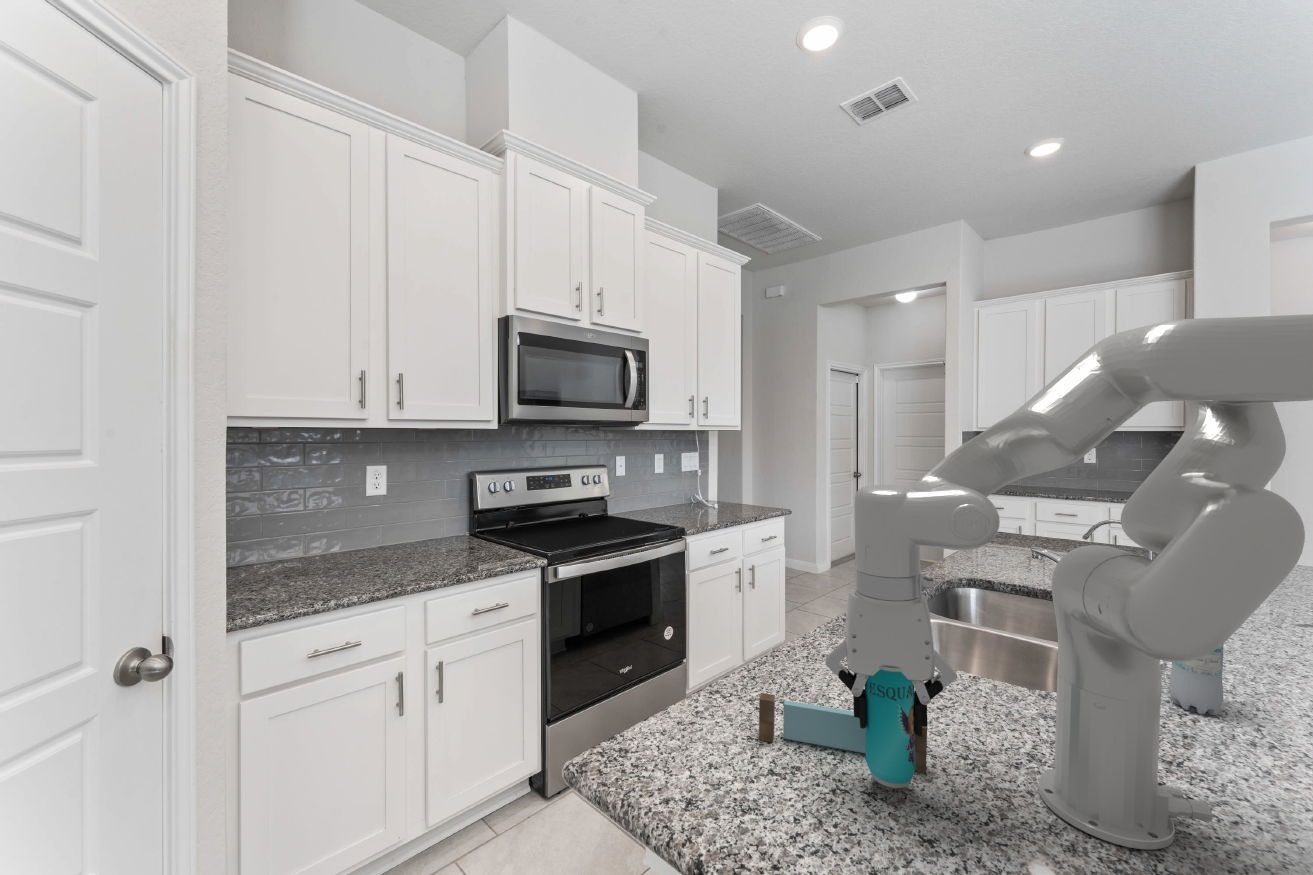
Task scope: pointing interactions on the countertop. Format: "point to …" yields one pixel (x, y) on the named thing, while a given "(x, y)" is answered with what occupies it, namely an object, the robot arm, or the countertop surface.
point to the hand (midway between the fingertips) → (889, 725)
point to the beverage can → (890, 727)
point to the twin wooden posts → (768, 730)
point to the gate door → (823, 726)
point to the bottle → (1199, 683)
